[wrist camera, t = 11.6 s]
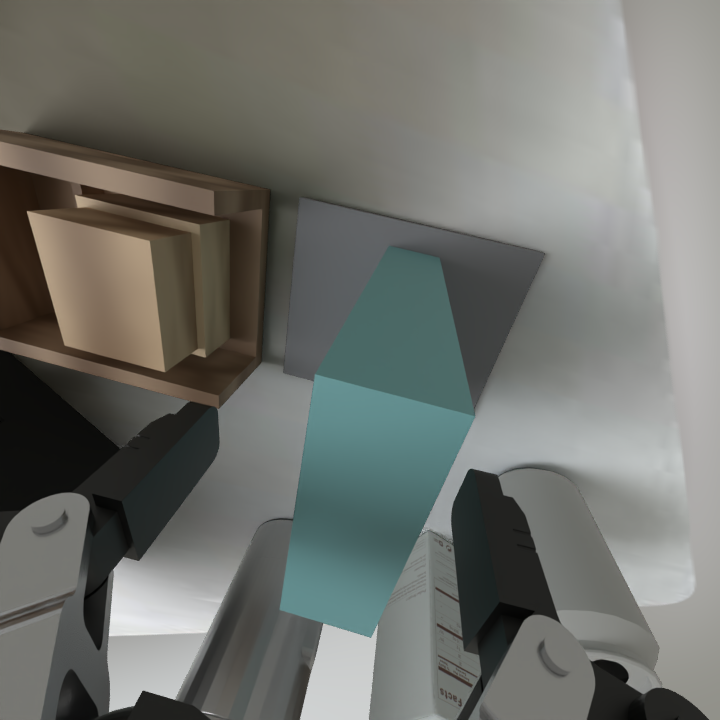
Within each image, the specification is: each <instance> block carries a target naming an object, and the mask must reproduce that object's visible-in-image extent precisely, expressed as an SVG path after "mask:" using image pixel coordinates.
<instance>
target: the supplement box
mask: <svg viewBox="0 0 720 720" xmlns="http://www.w3.org/2000/svg"><path fill="white" fill-rule="evenodd" d="M480 673H481V667H480V660H479V655H476V654H473V653H469V652H465V651H464V648H463V638H462V628H461V617H460V607H459V596H458V586H457V576H456V565H455V555H454V545H452V544H451V543H449V542H447V541H446V540H444V539H443V538H441V537H439V536H438V535H436V534H435V533H433V532H431V531H427V532H426V533H424V534H423V535H422V536H420V537H419V538H418V539H417V541H416V543H415V545H414V548H413V550H412V552H411V554H410V556H409V558H408V560H407V562H406V565H405V567H404V569H403V571H402V573H401V575H400V577H399V579H398V582H397V584H396V586H395V588H394V590H393V592H392V594H391V596H390V598H389V601H388V603H387V605H386V607H385V609H384V611H383V613H382V615H381V618H380V620H379V622H378V631H377V643H376V652H375V663H374V672H373V683H372V694H371V704H370V714H369V720H454V719H455V717H456V715H457V713H458V711H459V710H460V708H461V706H462V704H463V702H464V701H465V699H466V697H467V695H468V693H469V691H470V690H471V688H472V686H473V684H474V682H475V681H476V679H477V677H478V675H479V674H480Z"/></svg>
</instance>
